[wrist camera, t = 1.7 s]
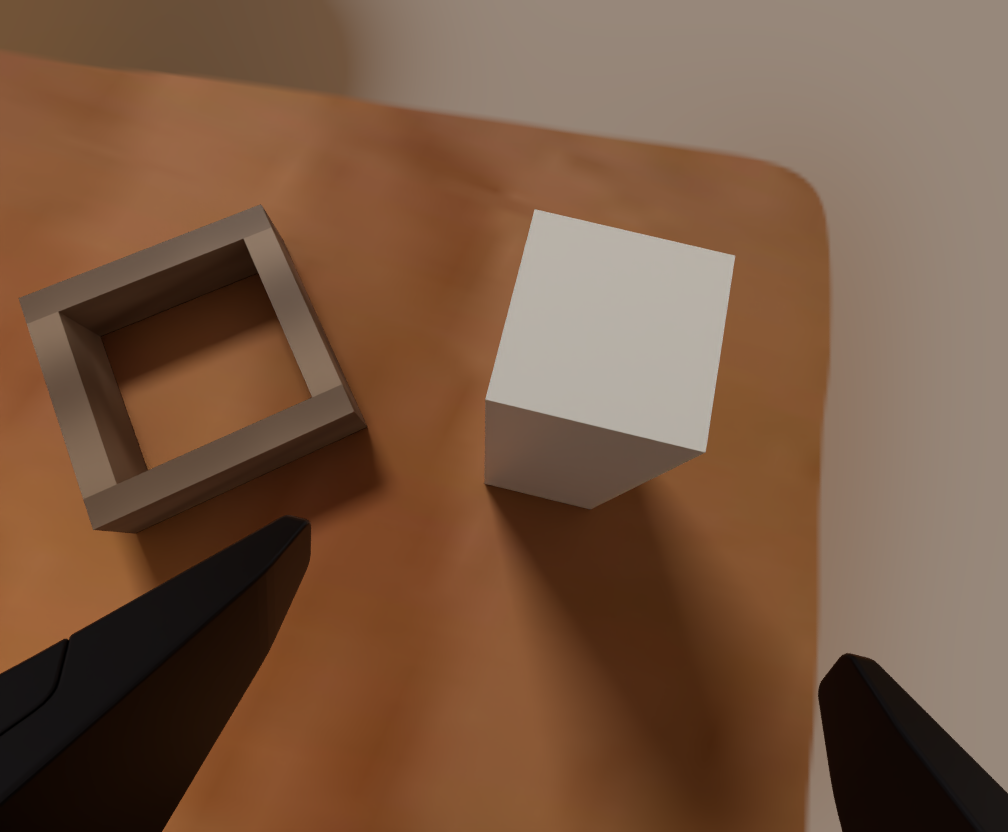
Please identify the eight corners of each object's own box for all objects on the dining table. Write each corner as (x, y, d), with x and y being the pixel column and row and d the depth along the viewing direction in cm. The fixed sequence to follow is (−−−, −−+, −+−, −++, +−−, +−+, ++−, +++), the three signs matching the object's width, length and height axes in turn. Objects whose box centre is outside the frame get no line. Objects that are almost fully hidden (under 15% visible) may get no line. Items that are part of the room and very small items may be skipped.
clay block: (590, 509, 23) (705, 452, 11) (484, 483, 23) (485, 399, 11) (610, 407, 24) (735, 255, 12) (509, 383, 25) (534, 209, 12)
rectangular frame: (367, 426, 24) (354, 411, 21) (135, 533, 22) (93, 529, 20) (281, 237, 26) (261, 204, 23) (64, 324, 24) (18, 298, 22)
